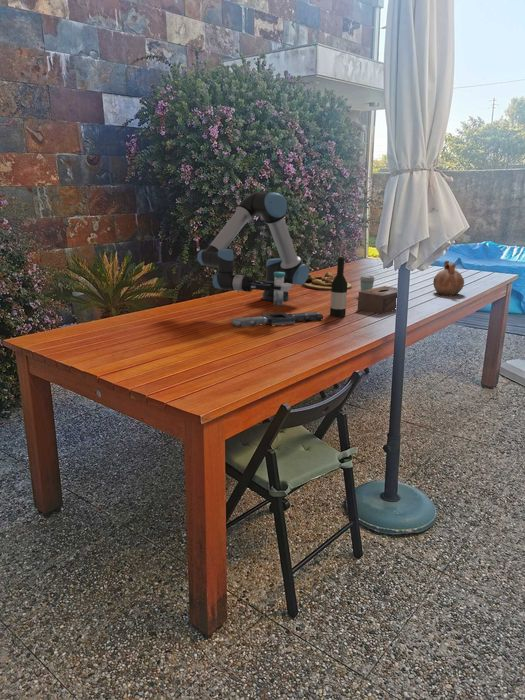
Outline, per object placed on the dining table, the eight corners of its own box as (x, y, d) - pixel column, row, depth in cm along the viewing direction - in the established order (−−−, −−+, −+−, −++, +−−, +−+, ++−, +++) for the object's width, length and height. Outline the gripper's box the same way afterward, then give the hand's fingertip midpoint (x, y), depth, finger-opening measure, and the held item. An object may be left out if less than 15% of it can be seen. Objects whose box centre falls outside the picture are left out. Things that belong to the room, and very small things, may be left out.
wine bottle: (333, 317, 282) (336, 257, 273) (326, 313, 290) (330, 255, 281) (348, 317, 284) (352, 257, 275) (341, 313, 292) (345, 255, 283)
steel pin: (270, 303, 269) (271, 272, 265) (280, 303, 271) (282, 271, 267) (275, 306, 264) (276, 273, 260) (285, 305, 266) (287, 273, 262)
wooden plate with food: (296, 288, 355) (297, 275, 353) (308, 280, 384) (308, 268, 382) (347, 294, 346) (348, 280, 344) (354, 284, 375) (355, 272, 373)
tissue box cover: (380, 314, 292) (382, 295, 289) (357, 310, 301) (358, 291, 298) (405, 307, 310) (407, 289, 307) (383, 303, 319) (384, 285, 316)
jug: (466, 297, 340) (471, 264, 334) (436, 296, 340) (440, 263, 334) (457, 291, 358) (461, 259, 352) (428, 290, 358) (432, 259, 352)
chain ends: (228, 323, 267) (229, 317, 266) (314, 315, 285) (314, 310, 284) (238, 329, 256) (238, 323, 255) (325, 321, 274) (326, 315, 273)
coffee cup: (373, 298, 331) (374, 278, 327) (358, 297, 332) (359, 277, 329) (373, 295, 339) (374, 275, 335) (359, 294, 340) (360, 274, 337)
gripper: (250, 288, 280) (295, 292, 272) (236, 294, 265) (283, 299, 257) (250, 273, 278) (295, 277, 270) (236, 278, 262) (283, 282, 255)
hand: (289, 287), depth 264 cm, fingers closed on steel pin, 4 cm apart
